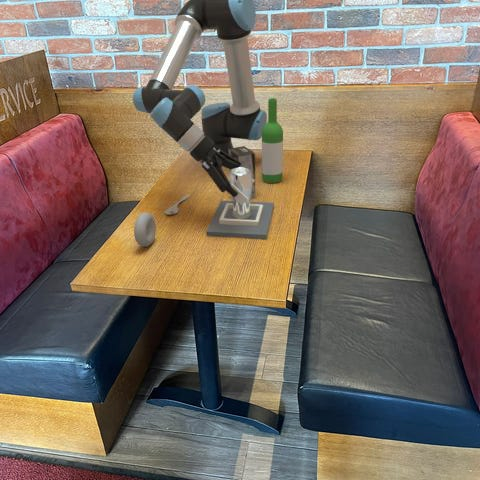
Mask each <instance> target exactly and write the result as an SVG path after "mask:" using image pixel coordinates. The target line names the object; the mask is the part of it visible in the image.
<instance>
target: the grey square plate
mask: <svg viewBox="0 0 480 480" xmlns="http://www.w3.org/2000/svg"><path fill="white" fill-rule="evenodd" d="M274 207H275V203H274V202H268V201H267V202H266V201H265V202H263V201H262V202H261V201H250V210H251V217H250V218H249V219H246V220H242V219H234V218H233V217H232V213H233V202H232V200H222V199H221V200H220V201H219V203H218V206H217V207H216V210H215V212H214V214H213V217H212V218H211V219H210V220H211V221H210V223H209V225H208V227H207V228H206V231H205V236H207V237H219V238H235V239H237V238H238V239H251V240H252V239H254V240H257V239H258V240H267V238H268V233H269V229H270V225H271V221H272V217H273V213H274V209H275V208H274Z"/></svg>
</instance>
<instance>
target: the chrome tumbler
mask: <svg viewBox="0 0 480 480" xmlns="http://www.w3.org/2000/svg"><path fill="white" fill-rule="evenodd" d="M228 180H229V182H230V184H233V185H234V186H235V187H237V188H238V189H239V190H240V191H241V192H242V193H243V194H244V195H245V196H246V197H247V198H248V200H247V201H246V202H245V203H244V204H243V205H241V204H240V203H239V202H237V201H236V200H235V199H234V198H233V197H232V196H231V195H230V198H231V201H232V202H233V213H232V217H233V218H234V219H242V220H246V219H249V218H250V217H251V210H250V202H251V199H252V198H251V194H252V174H251V169H249V168H245V167H237V168H233V169H231V170H230V169H229V179H228Z"/></svg>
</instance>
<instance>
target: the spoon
mask: <svg viewBox="0 0 480 480" xmlns="http://www.w3.org/2000/svg"><path fill="white" fill-rule="evenodd" d="M188 198H190V194H186V195H185V194H184V196H183V197H181V198H180V200H179V201H177V202H176V203H175V204H174V205H172V206H170V207H168V209H166V211H164V214H165V215H175V214H178V212H179V211H180V209H179V207H178V205H180V203H181V202H184V201H185V200H187V199H188ZM171 212H173V213H171Z"/></svg>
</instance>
